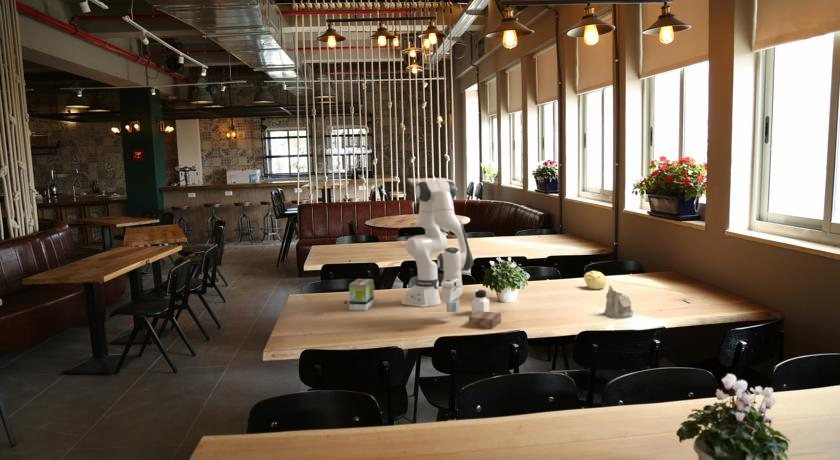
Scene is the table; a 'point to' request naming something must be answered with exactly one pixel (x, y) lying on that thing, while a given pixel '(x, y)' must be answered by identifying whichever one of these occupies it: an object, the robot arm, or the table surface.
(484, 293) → the medicine bottle
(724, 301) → the table surface
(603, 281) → the pale yellow lumpy ball
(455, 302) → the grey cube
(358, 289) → the tea box
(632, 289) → the table surface
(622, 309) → the grey rock
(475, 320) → the walnut block
